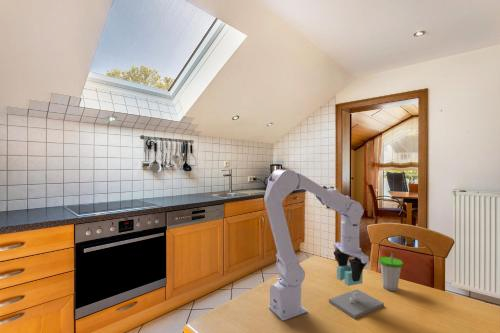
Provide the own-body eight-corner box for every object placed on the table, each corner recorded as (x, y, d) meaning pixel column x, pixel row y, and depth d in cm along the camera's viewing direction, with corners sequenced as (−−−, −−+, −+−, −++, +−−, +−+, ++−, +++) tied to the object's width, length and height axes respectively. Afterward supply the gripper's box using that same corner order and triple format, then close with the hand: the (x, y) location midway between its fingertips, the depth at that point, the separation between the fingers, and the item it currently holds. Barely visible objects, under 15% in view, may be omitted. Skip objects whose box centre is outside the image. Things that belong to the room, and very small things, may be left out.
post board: (354, 318, 75) (354, 307, 74) (328, 302, 83) (329, 291, 83) (383, 306, 81) (383, 295, 81) (357, 292, 90) (357, 282, 90)
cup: (384, 281, 98) (384, 243, 98) (406, 289, 92) (406, 248, 92) (374, 287, 93) (374, 247, 93) (396, 296, 87) (397, 253, 87)
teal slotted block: (350, 275, 87) (350, 264, 87) (362, 283, 82) (362, 271, 82) (336, 278, 85) (337, 266, 85) (348, 285, 80) (348, 273, 80)
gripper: (376, 241, 78) (376, 284, 78) (345, 229, 91) (344, 266, 92) (358, 243, 75) (357, 288, 76) (328, 230, 89) (328, 268, 89)
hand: (349, 276), depth 84 cm, fingers closed on teal slotted block, 6 cm apart
